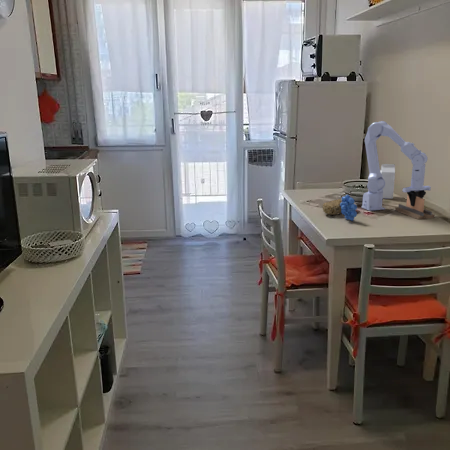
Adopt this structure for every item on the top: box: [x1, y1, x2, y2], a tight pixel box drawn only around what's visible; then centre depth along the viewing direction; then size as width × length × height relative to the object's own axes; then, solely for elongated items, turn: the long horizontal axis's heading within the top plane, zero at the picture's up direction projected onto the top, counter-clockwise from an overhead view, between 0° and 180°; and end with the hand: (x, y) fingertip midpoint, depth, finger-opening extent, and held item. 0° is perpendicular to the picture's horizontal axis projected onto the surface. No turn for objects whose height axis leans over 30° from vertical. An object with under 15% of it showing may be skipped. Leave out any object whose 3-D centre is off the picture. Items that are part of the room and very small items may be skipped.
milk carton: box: [380, 163, 396, 199], centre depth 263 cm, size 7×7×19 cm
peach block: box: [405, 194, 425, 212], centre depth 228 cm, size 2×10×7 cm, turn 16°
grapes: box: [340, 194, 358, 222], centre depth 220 cm, size 12×7×12 cm, turn 23°
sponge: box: [322, 198, 358, 216], centre depth 234 cm, size 13×8×20 cm
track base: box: [394, 203, 436, 220], centre depth 229 cm, size 9×18×3 cm, turn 16°
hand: (415, 205), depth 229 cm, fingers closed on peach block, 2 cm apart
